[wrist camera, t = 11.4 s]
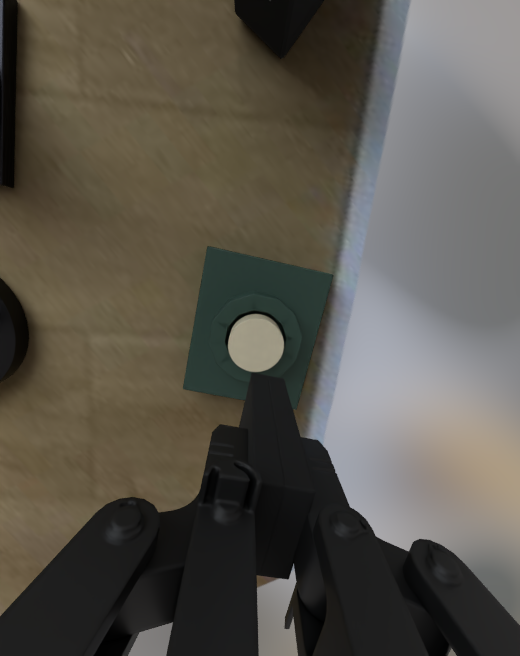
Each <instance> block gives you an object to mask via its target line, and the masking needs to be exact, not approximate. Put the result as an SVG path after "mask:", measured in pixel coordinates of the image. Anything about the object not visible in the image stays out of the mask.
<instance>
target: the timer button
mask: <svg viewBox="0 0 520 656" xmlns="http://www.w3.org/2000/svg"><path fill="white" fill-rule="evenodd" d="M228 350H229V354H230V356H231V358H232V360H233V361H234V362H235V364H236V365H238V366H239V367H240V368H242V369H244V370H247V371H250V372H261V371H265V370H268V369H270V368H271V367H273V366H274V365H275V364H276V363H277V362H278V361H279V360H280V358H281V356H282V354H283V350H284V340H283V336H282V334H281V331H280V329H279V327H278V325H277V324H276V323H275V322H274V321H273V320H272V319H271V318H269V317H267V316H265V315H262V314H250V315H247V316H244V317H242V318H241V319H239V320H238V321H237V322H236V323H235V324H234V326H233V327H232V330H231V332H230V336H229V341H228Z"/></svg>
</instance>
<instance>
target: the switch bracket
mask: <svg viewBox="0 0 520 656" xmlns="http://www.w3.org/2000/svg"><path fill="white" fill-rule="evenodd" d="M17 6H18V2H17V0H0V185H1V186H6V187H10V188H13V187H14V150H15V102H16V54H17Z"/></svg>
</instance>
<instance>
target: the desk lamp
mask: <svg viewBox="0 0 520 656" xmlns="http://www.w3.org/2000/svg"><path fill="white" fill-rule="evenodd" d="M28 341H29V331H28V324H27V320H26V317H25V313H24V311H23V309H22V306H21V304H20V302H19V301H18V299H17V298H16V296H15V294H14V293H13V292H12V290H11V289H10V288H9V287H8V286H7V285H6V283H5V282H4V281H3V280H2V279H1V278H0V383H1V382H3V381H5V380H6V379H8V378H9V377H10V376H11V375H13V374H14V373H15V371H16V370H17V369H18V368H19V366H20V365H21V363H22V362H23V360H24V357H25V355H26V352H27V348H28Z"/></svg>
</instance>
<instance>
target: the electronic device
mask: <svg viewBox="0 0 520 656" xmlns="http://www.w3.org/2000/svg"><path fill="white" fill-rule="evenodd" d="M323 1H324V0H234V3H235V12H236V15H237V16H238V17H239V18H240V19H241V20H242V21H243V22H244V23H245V24H246V25H247V26H248V27H249V28H250V29H251V30H252V31H253V32H254V33H255V34H256V35H257V36H258V37H259V38H260V39H261V40H262V41H263V42H264V43H265V44H266V45H267V46H268V47H269V48H270V49H271V50H272V51H273V52H274V53H275V54H276V55H277V56H278V57H279V58H280V59H282V58H284V56H285V55H286V54H287V53H288V51H289V50H290V48H291V47H292V46H293V44H294V43H295V41H296V40H297V38H298V37H299V36H300V34H301V33H302V31H303V30H304V28H305V27H306V25H307V24H308V23H309V21H310V20H311V18H312V17H313V15H314V14H315V13H316V11H317V10H318V8H319V7H320V5H321V4H322V3H323Z"/></svg>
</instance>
